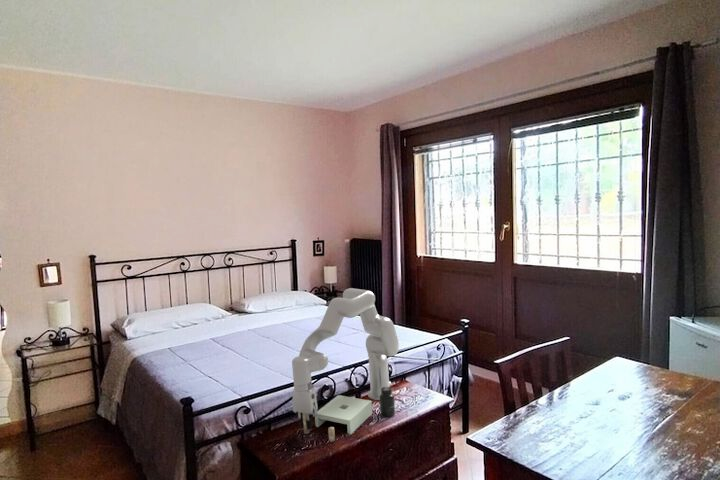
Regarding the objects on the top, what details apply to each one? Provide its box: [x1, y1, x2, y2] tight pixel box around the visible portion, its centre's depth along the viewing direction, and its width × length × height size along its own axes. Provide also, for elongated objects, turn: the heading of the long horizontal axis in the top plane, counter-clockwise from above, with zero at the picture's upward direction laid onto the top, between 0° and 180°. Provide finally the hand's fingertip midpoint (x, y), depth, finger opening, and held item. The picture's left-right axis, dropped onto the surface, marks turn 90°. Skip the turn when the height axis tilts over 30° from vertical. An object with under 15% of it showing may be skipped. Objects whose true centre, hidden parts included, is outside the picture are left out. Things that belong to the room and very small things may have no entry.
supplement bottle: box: [379, 387, 396, 418], centre depth 198 cm, size 7×7×12 cm
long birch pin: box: [302, 413, 311, 435], centre depth 185 cm, size 2×2×11 cm
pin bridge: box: [314, 394, 373, 435], centre depth 196 cm, size 20×18×6 cm
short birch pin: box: [327, 426, 336, 443], centre depth 179 cm, size 2×2×5 cm
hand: (306, 427), depth 185 cm, fingers closed on long birch pin, 2 cm apart
